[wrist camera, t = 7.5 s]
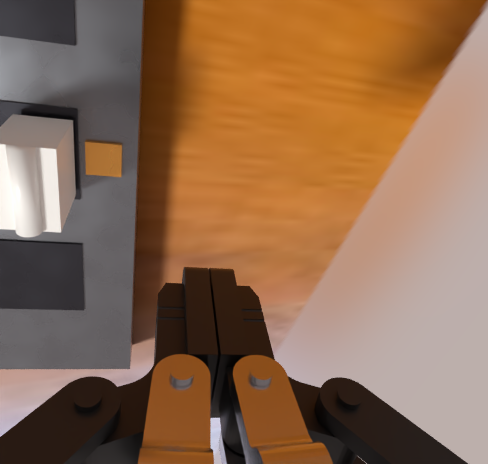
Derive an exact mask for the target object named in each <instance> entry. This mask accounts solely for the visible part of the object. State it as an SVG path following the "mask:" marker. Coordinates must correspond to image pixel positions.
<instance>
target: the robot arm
mask: <svg viewBox="0 0 488 464" xmlns="http://www.w3.org/2000/svg"><path fill="white" fill-rule="evenodd" d="M219 417H220V422H221V433H220V438H219V449H220V455H221V461H222V464H366V463H367V464H468V463H466V462H465V461H464V460H462V459H461V458H460V457H458V456H457V455H456V454H454V453H453V452H452V451H450V450H449V449H447V448H446V447H445V446H443V445H442V444H441V443H439V442H438V441H437V440H435V439H434V438H433V437H431V436H430V435H428V434H427V433H426V432H424V431H423V430H422V429H420V428H419V427H418V426H416V425H415V424H413V423H412V422H411V421H410V420H408V419H407V418H406V417H404V416H403V415H401V414H400V413H399V412H397V411H396V410H395V409H393V408H392V407H391V406H389V405H388V404H387V403H385V402H384V401H382V400H381V399H380V398H378V397H377V396H376V395H374V394H373V393H371V392H370V391H369V390H368V389H366V388H365V387H364V386H362V385H361V384H359V383H357V382H355V381H353V380H350V379H347V378H332V379H329V380H328V381H326V382H325V383H324V384H323V385H322V387H321V388H319V387H315V386H311V385H308V384H304V383H301V382H298V381H296V380H294V379H292V378H290V377H288V376H287V374H286V372H285V370H284V368H283V367H282V366H281V365H280V364H279V363H278V362H276V361H275V359H274V355H273V351H272V348H271V344H270V340H269V336H268V332H267V328H266V324H265V322H264V316H263V312H262V308H261V305H260V301H259V297H258V296H257V295H256V294H255V292H254V291H253V290H252V289H251V288H250V286H237V285H236V279H235V274H234V270H233V269H217V268H209V270H208V268H194V267H184V270H183V278H182V284H180V283H166V284H165V285H164V286H163V288H162V289H161V291H160V292H159V294H158V305H157V318H156V332H155V354H154V366H153V367H152V369H151V370H150V371H149V373H148V374H147V375H145V376H144V377H143V378H141V379H140V380H137V381H135V382H133V383H130V384H126V385H123V386H119V387H117V386H116V385H115V384H114V383H112V382H111V381H109V380H107V379H105V378H101V377H84V378H80V379H77V380H75V381H73V382H71V383H69V384H68V385H66V386H65V387H63V388H62V389H61V390H60V391H58V392H57V393H56V394H55V395H53V396H52V397H51V398H49V399H48V400H47V401H46V402H44V403H43V404H42V405H41V406H39V407H38V408H37V409H35V410H34V411H33V412H32V413H30V414H29V415H28V416H27V417H25V418H24V419H23V420H21V421H20V422H19V423H18V424H16V425H15V426H14V427H13V428H11V429H10V430H9V431H7V432H6V433H5V434H4V435H2V436H1V437H0V464H214V458H213V450H212V449H211V448H210V418H219ZM358 456H359V457H360V458H361V459H362V460H363V461H362V460H361V459H360V458H359V457H358ZM364 461H365V462H366V463H365V462H364Z"/></svg>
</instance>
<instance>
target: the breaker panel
mask: <svg viewBox="0 0 488 464" xmlns="http://www.w3.org/2000/svg"><path fill="white" fill-rule="evenodd" d="M144 20H145V0H0V127H1V126H2V125H3V124H4V123H5V122H6V121H7V120H8V118H9V117H10V116H11V115H12V114H16V115H26V116H36V117H45V118H55V119H65V120H73V135H74V160H75V185H76V196H75V198H74V201H73V203H72V206H71V209H70V211H69V214H68V216H67V219H66V221H65V224H64V227H63V229H62V232H42V233H41V234H40V235H38V236H35V237H21V236H19V235H17V234H16V230H7V229H0V369H130V362H131V352H132V336H133V309H134V283H135V257H136V230H137V204H138V178H139V151H140V125H141V99H142V72H143V46H144Z"/></svg>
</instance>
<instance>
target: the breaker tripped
mask: <svg viewBox="0 0 488 464" xmlns="http://www.w3.org/2000/svg"><path fill="white" fill-rule="evenodd" d="M75 196H76V185H75V160H74V135H73V120H65V119H55V118H45V117H36V116H26V115H16V114H12V115H11V116H10V117H9V118H8V120H7V121H6V122H5V123H4V124H3V125H2V126H1V127H0V229H7V230H16V234H17V235H19V236H21V237H35V236H38V235H40V234H41V233H42V232H62V229H63V227H64V224H65V221H66V219H67V216H68V214H69V211H70V209H71V206H72V203H73V201H74V198H75Z"/></svg>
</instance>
